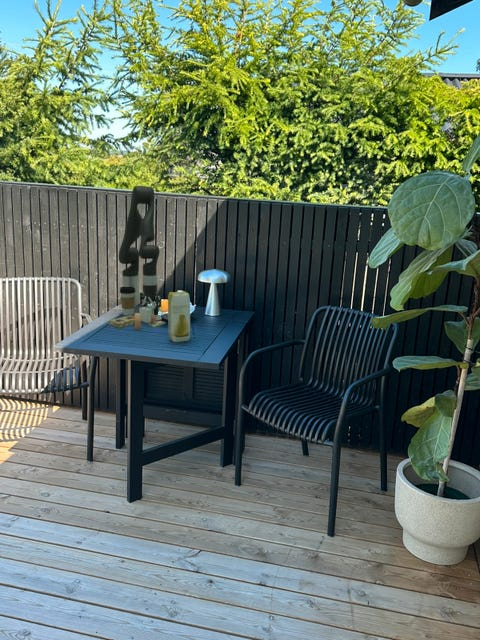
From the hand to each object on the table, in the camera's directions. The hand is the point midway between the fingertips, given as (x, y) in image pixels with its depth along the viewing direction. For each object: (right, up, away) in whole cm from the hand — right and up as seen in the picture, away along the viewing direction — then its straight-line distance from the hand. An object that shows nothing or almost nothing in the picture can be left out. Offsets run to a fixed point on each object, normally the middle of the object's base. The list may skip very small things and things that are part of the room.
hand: (150, 313), depth 304 cm
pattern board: (+4, -6, -8) cm, 10 cm away
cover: (0, -3, +1) cm, 4 cm away
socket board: (-12, -5, -7) cm, 15 cm away
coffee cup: (-14, 0, +12) cm, 18 cm away
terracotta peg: (-4, -8, -16) cm, 18 cm away
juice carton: (+19, -13, -32) cm, 39 cm away
